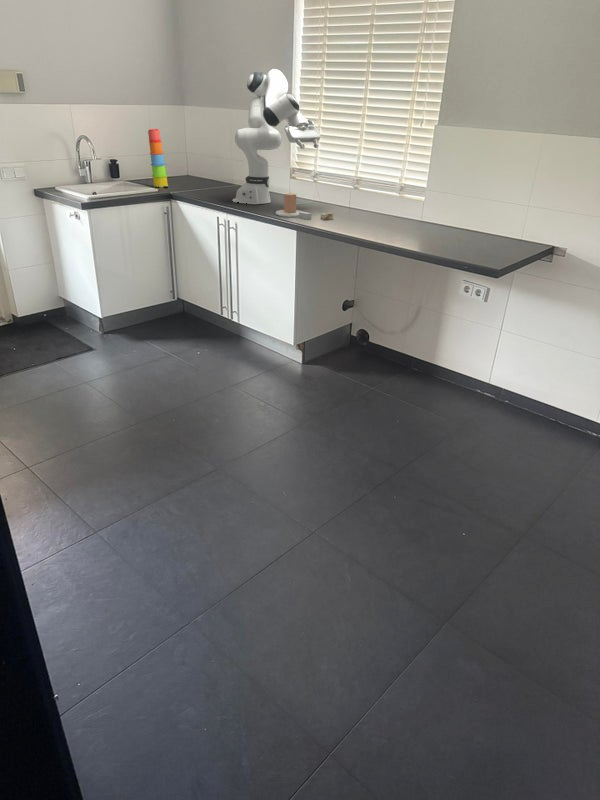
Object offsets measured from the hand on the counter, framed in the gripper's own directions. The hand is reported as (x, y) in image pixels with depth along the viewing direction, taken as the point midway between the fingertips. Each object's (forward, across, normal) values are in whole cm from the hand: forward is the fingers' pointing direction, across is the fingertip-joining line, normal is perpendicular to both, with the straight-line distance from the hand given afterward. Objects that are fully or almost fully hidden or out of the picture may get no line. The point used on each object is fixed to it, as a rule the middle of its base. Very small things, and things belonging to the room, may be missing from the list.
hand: (309, 147), depth 297 cm
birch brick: (+41, -10, +4) cm, 42 cm away
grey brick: (+36, -18, +9) cm, 41 cm away
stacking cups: (-58, -30, +103) cm, 122 cm away
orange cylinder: (+26, -18, +17) cm, 36 cm away
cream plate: (+27, -18, +18) cm, 37 cm away
